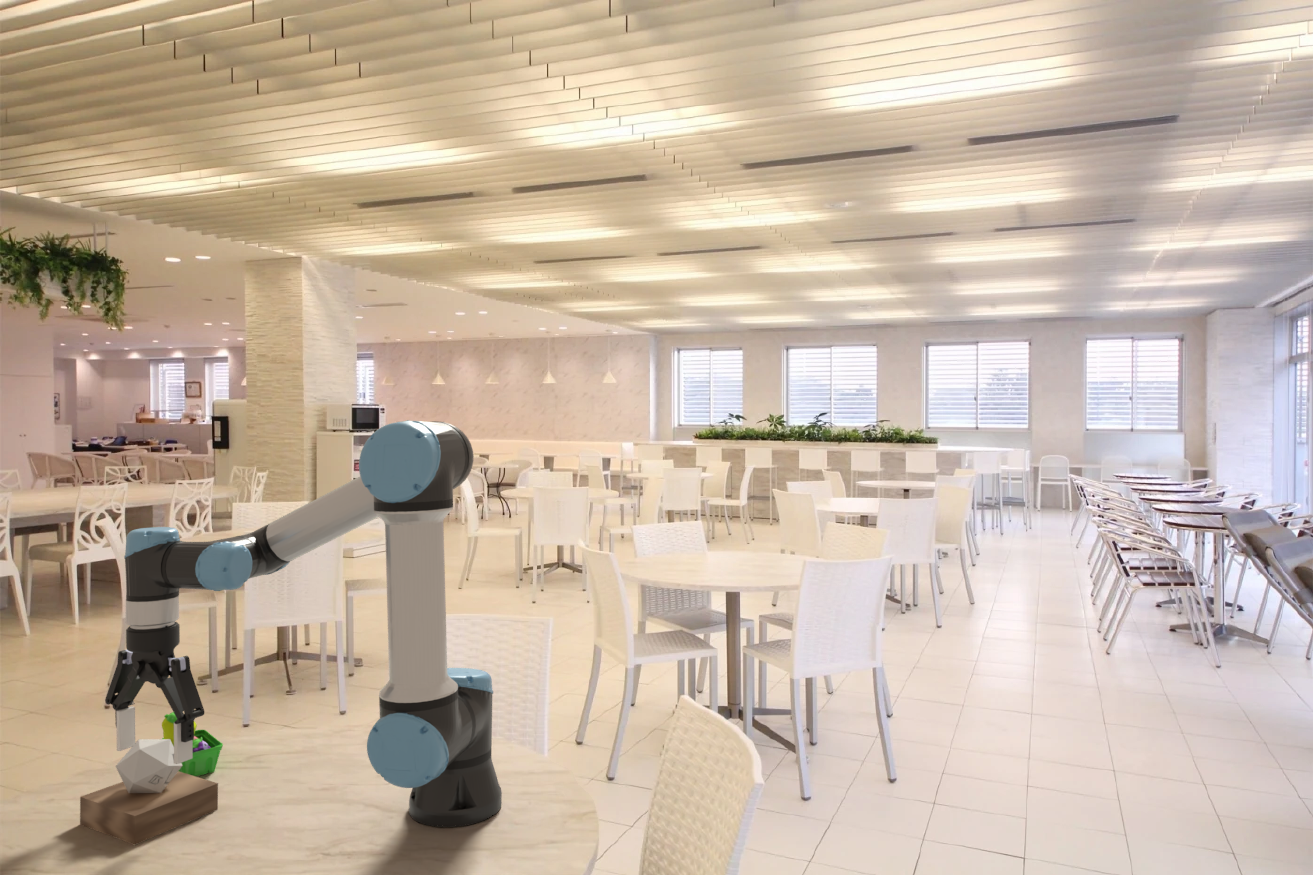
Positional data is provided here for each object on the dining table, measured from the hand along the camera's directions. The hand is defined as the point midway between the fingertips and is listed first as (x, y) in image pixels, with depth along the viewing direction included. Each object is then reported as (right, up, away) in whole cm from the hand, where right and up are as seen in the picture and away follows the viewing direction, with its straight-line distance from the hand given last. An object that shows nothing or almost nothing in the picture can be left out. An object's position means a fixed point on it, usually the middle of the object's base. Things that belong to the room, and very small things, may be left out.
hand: (154, 754), depth 143 cm
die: (-1, -6, 0) cm, 6 cm away
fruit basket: (-5, -10, +20) cm, 23 cm away
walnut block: (-1, -11, 0) cm, 11 cm away
